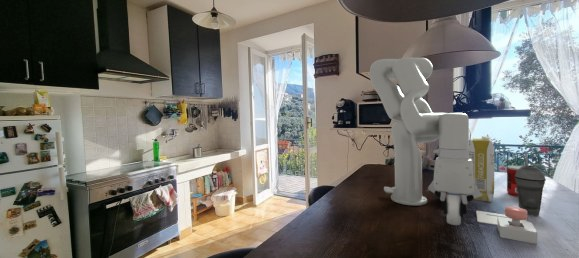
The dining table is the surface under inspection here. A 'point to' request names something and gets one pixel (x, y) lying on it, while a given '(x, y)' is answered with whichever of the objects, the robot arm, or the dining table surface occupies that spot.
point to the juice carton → (483, 166)
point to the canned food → (512, 180)
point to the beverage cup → (530, 188)
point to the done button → (516, 214)
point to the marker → (453, 208)
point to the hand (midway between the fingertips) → (453, 213)
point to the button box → (517, 230)
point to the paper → (489, 217)
